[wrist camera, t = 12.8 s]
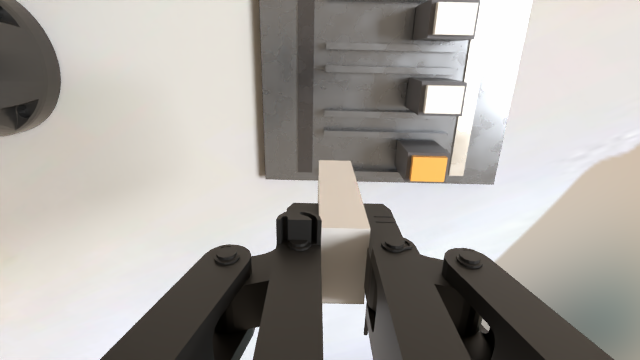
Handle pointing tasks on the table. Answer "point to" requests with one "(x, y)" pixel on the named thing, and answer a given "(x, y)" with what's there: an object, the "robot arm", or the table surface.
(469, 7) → the breaker
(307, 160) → the panel
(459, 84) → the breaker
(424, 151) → the block
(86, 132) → the table surface
